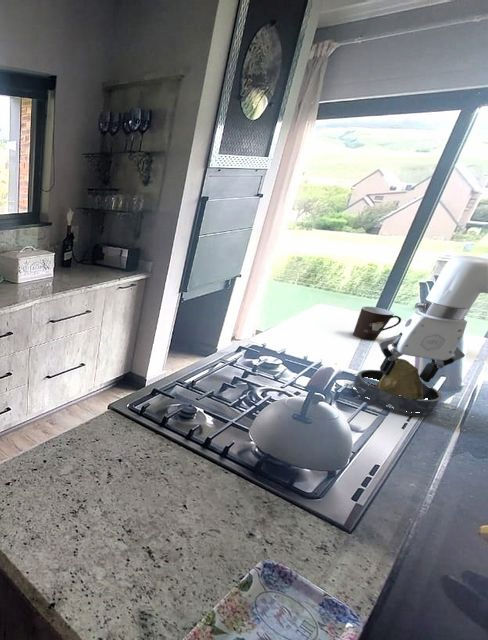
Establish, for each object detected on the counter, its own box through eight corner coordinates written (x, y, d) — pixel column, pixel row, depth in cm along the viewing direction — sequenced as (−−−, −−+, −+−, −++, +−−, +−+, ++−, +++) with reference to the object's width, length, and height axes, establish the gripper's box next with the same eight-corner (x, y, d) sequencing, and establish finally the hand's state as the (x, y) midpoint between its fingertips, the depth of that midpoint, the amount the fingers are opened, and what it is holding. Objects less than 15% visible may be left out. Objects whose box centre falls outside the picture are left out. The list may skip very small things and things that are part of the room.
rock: (426, 386, 106) (379, 369, 111) (447, 370, 99) (396, 354, 104) (410, 418, 104) (363, 400, 109) (431, 405, 97) (379, 386, 102)
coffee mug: (348, 336, 145) (361, 310, 140) (349, 330, 150) (362, 304, 146) (390, 346, 138) (406, 319, 133) (390, 339, 144) (405, 312, 139)
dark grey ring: (413, 391, 111) (422, 377, 108) (445, 422, 97) (456, 407, 95) (342, 379, 116) (349, 365, 114) (363, 407, 103) (372, 392, 100)
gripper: (404, 309, 94) (367, 375, 103) (502, 322, 89) (455, 390, 97) (390, 300, 101) (356, 363, 109) (481, 311, 95) (439, 377, 103)
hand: (403, 376), depth 103 cm, fingers closed on rock, 7 cm apart
